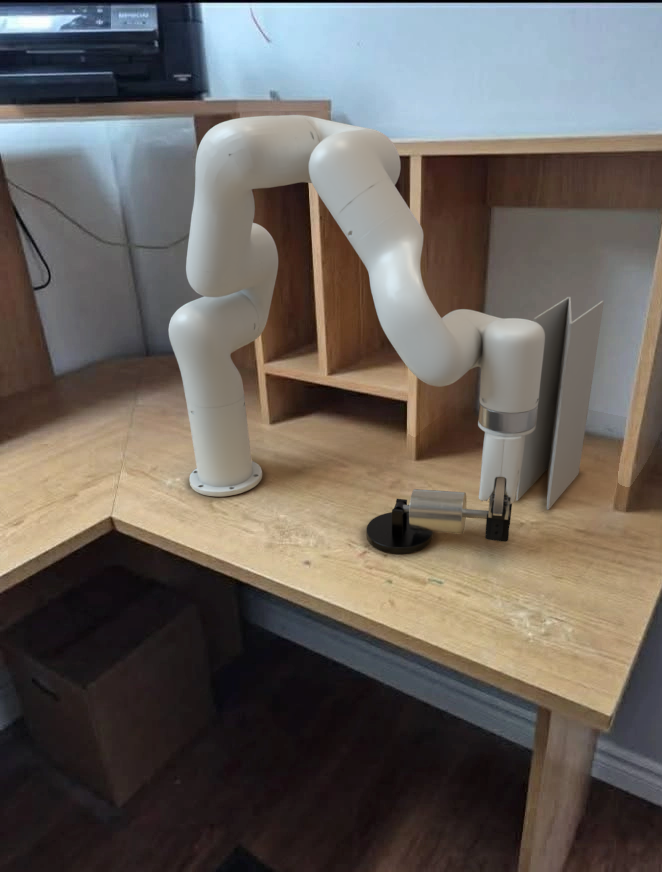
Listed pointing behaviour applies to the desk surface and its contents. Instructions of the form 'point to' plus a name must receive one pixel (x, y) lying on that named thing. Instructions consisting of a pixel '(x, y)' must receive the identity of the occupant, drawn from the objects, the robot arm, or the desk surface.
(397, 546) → the holder base
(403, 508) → the knobbed metal cylinder
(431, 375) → the robot arm
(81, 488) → the desk surface
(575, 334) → the brochure
